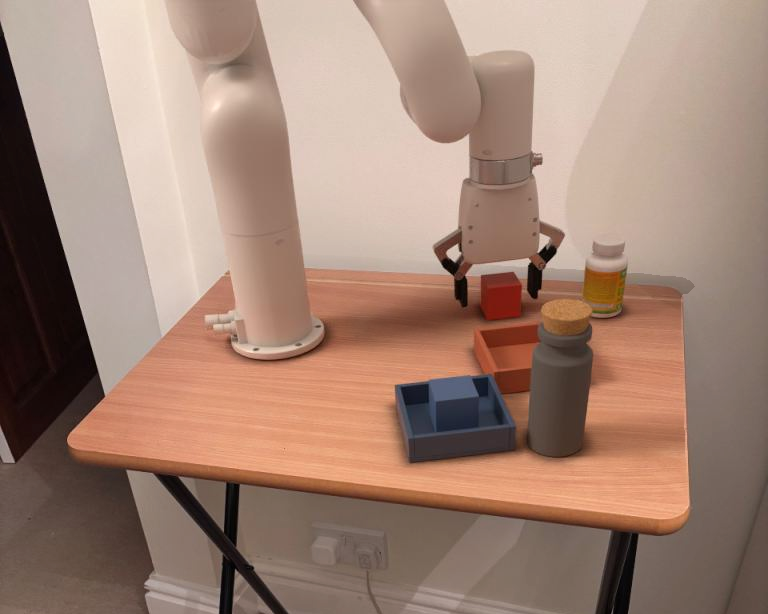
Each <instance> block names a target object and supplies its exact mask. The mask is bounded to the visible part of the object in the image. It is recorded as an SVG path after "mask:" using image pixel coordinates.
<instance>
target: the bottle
mask: <svg viewBox="0 0 768 614" xmlns="http://www.w3.org/2000/svg"><path fill="white" fill-rule="evenodd" d="M540 310H541V311H540V312H541V318H542V321H540V322H541V323H540V324H539V325H538V337H539V339H540V340H541V341H542V342H540V343H539V344H537V345H536V346H535V348H534V349H533V355H532V367H531V381H530V390H529V397H528V413H527V431H526V441H527V445H528V447H529V448H530V449H531V450H533V451H534V452H535V453H537V454H540V455H542V456H545V457H551V458H561V457H562V458H563V457H567V456H571V455H574V454H575V453H577V452H579V450H580V449H581V448H582V447H583V443H584V437H585V430H586V421H587V414H588V406H589V405H588V404H589V399H590V397H589V396H590V390H591V389H590V388H591V379H592V371H593V362H594V351H593V349H592V347H591V346H590V344H588V343H589V342H590V341H591V340H592V336H593V325H592V324H591V323H590V320H591V318H592V317H591V315H592V311H593V310H592V308H591V306H590V305H589V304H587V303H585V302H582V301H581V300H578V299H572V298H557V299H553V300H550V301H548V302H546V303H544V304H543V305H542V306H541V308H540Z"/></svg>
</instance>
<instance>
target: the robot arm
mask: <svg viewBox="0 0 768 614" xmlns="http://www.w3.org/2000/svg"><path fill="white" fill-rule="evenodd" d="M352 1H353V3H354V4H355V6H356V8H357V9H358V10H359V12H360V13H361V15H362V16H363V17H364V19H365V20H366V21H367V23H368V25H369V26H370V27H371V29H372V31H373V32H374V34H375V36H376V37H377V40H378V41H379V43H380V45H381V47H382V49H383V51H384V53H385V55H386V57H387V59H388V61H389V63H390V65H391V67H392V69H393V72H394V74H395V76H396V78H397V80H398V82H399V97H400V102H401V104H402V107H403V109H404V111H405V113H406V114H407V116H408V117H409V118H410V120H412V122H413V123H414V124H415V125H416V127H417V129H419V131H420V132H421V133H422V134H423V135H424V136H425V137H426V138H427V139H430V140H431V141H433V142H435V143H440V144H453V143H456V142H458V141H459V142H460V141H461V140H463V139H464V138H465V137H467V136H468V169H469V170H468V177H466V178H464V179H463V180H462V183H461V189H460V195H459V205H458V217H457V219H458V220H457V228H456V229H455V230H454V231H452V232H450V233H449V234H448V235H446V236H444V237H443V238H441V239H440V240H438V241H436V242H435V243H434V244H432V251H433V253H434V255H435V256H436V258H437V259H438V261H439V263H440V265H441V266H442V268H443V269H444V270H445V271H446V272H448V273H449V275H451V276H452V277H453V292H454V293H453V294H454V295H453V296H454V299H455V301H458V302H459V304H460V307H461V308H462V309H465V308H467V307H468V306H469V293H468V292H469V289H468V288H469V287H468V285H469V284H468V283H469V282H468V279H467V276H466V274H467V273H468V272H469V271H470V269H471V268H472V267H473V266H474V265H483V264H493V263H501V262H509V261H518V260H524V259H529V261H530V262H528V264H527V276H526V277H527V278H526V281H527V283H526V291H527V293H528V295H529V296H530V298H531V299H533V300H538V299H539V291H542V289H543V288H542V287H543V272H544V271H543V270H545V269H546V267H547V264H548V263H549V262H550V261H551V260H552V259H553V258H554V257H555V256H556V255H557V253H558V249H559V248H560V246H561V245H562V243H563V241H564V239H565V237H566V234H565V232H564V231H563V229H561V228H559V227H557V226H555V225H552V224H551V223H550V224H549V223H547V222H544V221H543V220H540V206H539V195H538V194H539V193H538V186H537V180H536V176H535V174H534V173H533V170H534V168H536V167H537V166H542V164H543V162H544V158H543V157H544V156H543V153H537V152H533V151H532V148H533V145H532V144H533V122H534V97H535V62H534V59H533V57H532V56H531V55H530V54H529V53H528V52H525V51H522V50H512V49H511V50H509V49H508V50H506V49H505V50H494V51H488V52H484V53H481V54H478V55H468V54H467V52H466V51H467V50H466V49H465V47H464V44H463V42H462V41H463V40H462V39H461V36H460V34H459V30H458V29H457V26H456V24H455V22H454V19H453V17H452V15H451V12H450V10H449V8H448V6H447V3H446V1H445V0H352ZM164 4H165V9H166V13H167V18H168V21H169V25H170V28H171V30H172V33H173V34H174V36H175V38H176V39H177V41H178V42H179V44H180V45H181V46H182V48H183V49H184V50H185V53H186V57H187V59H188V64H189V66H190V69H191V73H192V76H193V78H194V83H195V86H196V88H197V92H198V94H199V98H200V101H201V106H200V112H199V113H200V114H199V128H200V137H201V144H202V149H203V153H204V158H205V161H206V165H207V170H208V173H209V178H210V182H211V183H210V184H211V187H212V190H213V196H214V201H215V206H216V211H217V216H218V221H219V226H220V230H221V233H222V238H223V244H224V250H225V255H226V260H227V265H228V270H229V275H230V280H231V281H230V282H231V285H232V291H233V296H234V301H235V306H234V309H230V310H228V312H227V313H214V314H212V313H211V314H206V315H205V314H204V322H205V327H206V330H207V331H210V330H213V334H214V336H220V335H225V334H230V342H231V347H232V349H233V350H234V351H235V352H236V353H237V354H239V355H241V356H242V357H243V356H244V357H247V358H249V359H254V360H263V361H265V360H266V361H270V360H271V361H274V360H282V359H283V360H284V359H289V358H293V357H296V356H300V355H302V354H304V353H307V352H309V351H311V350H312V349H314V348H316V347H317V346H318V345H319V344H320V343H321V342H322V341H323V339H324V337H325V326H324V323H323V321H322V320H321V319H320V318H318V317H317V316H315V315H312V314H311V305H310V298H309V297H310V296H309V291H308V283H307V275H306V268H305V260H304V251H303V245H302V244H303V243H302V238H301V229H300V228H301V227H300V221H299V216H298V209H297V201H296V194H295V186H294V177H293V167H292V160H291V159H292V158H291V150H290V148H291V146H290V138H289V130H288V123H287V117H286V113H285V108H284V104H283V102H282V97H281V93H280V90H279V86H278V83H277V78H276V74H275V72H274V67H273V63H272V59H271V55H270V51H269V48H268V42H267V40H266V36H265V32H264V28H263V24H262V20H261V19H262V18H261V16H260V12H259V8H258V4H257V0H164ZM540 235H543V236H545V237H548V238H549V240H548V242H547V243H546V244H545V245H544V246H543V248H541V249H540V250H539V248H540V240H541V239H540V237H541V236H540ZM455 246H457V249H458V252H459V253H460V254H459V255H458V256H457V258H456V260H455V261H454V260H452V258H450V257H449V256H448V253H447V252H448V251H450V249H452V248H453V247H455ZM538 251H539V252H538Z"/></svg>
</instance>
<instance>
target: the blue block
mask: <svg viewBox="0 0 768 614" xmlns="http://www.w3.org/2000/svg"><path fill="white" fill-rule="evenodd" d="M471 376H472V375H471V374H467V375H458V376H457V375H456V376H450V377H440V378H432V379H428V381H429V412H430V419H431V422H432V425H433V428H434V432H435V433H436V432H445V431H453V430H462V429H471V428H479V395H478V393H477V390H476V388H475V385H474V383H473V381H472V378H471Z"/></svg>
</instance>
